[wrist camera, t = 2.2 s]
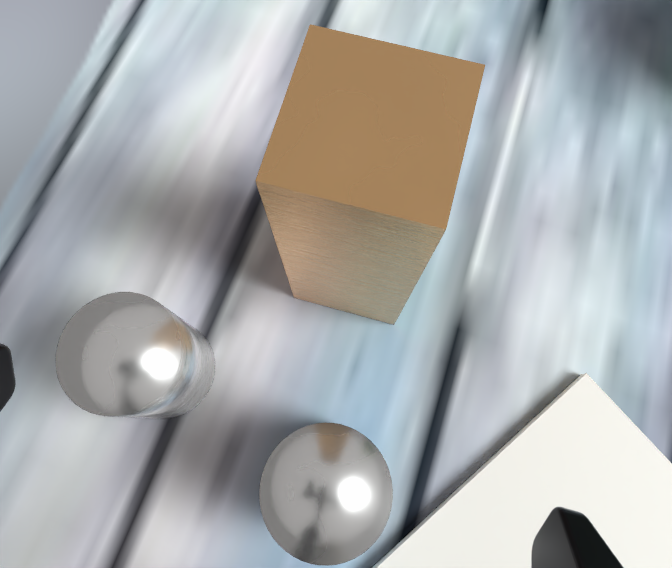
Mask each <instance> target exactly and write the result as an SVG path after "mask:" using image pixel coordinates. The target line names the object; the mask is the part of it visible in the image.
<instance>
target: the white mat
mask: <svg viewBox="0 0 672 568" xmlns="http://www.w3.org/2000/svg"><path fill="white" fill-rule="evenodd" d="M555 507H564V508H567V509H570V510H574V511H577V512H580V513H582V514H584V515H585V516H586V517H587V518H588V519H589V520H590V522H591V523H592V524H593V526H594V527H595V529H596V530H597V531H598V533H599V534H600V536H601V537H602V538H603V540H604V541H605V542H606V544H607V545H608V547H609V548H610V549H611V551H612V552H613V554H614V555H615V556H616V558H617V559H618V561H619V562H620V563H621V565H622V566H623V567H624V568H672V463H671V462H670V461H669V460H668V459H667V458H666V457H665V456H664V455H663V454H662V453H661V452H660V451H659V450H658V449H657V448H656V447H655V445H654V444H653V443H652V442H651V441H650V440H649V439H648V438H647V437H646V436H645V435H644V434H643V433H642V432H641V431H640V430H639V428H638V427H637V426H636V425H635V424H634V423H633V422H632V421H631V420H630V419H629V418H628V417H627V416H626V415H625V414H624V413H623V411H622V410H621V409H620V408H619V407H618V406H617V405H616V404H615V403H614V402H613V401H612V400H611V399H610V398H609V397H608V396H607V394H606V393H605V392H604V391H603V390H602V389H601V388H600V387H599V386H598V385H597V384H596V383H595V382H594V381H593V380H592V379H591V377H590V376H589V375H588V374H587V373H586V374H581V375H580V376H579V377H578V378H577V379H576V380H575V381H574V382H572V383H571V384H570V385H569V386H568V387H567V388H566V389H565V390H564V391H563V392H562V393H561V394H559V395H558V396H557V397H556V398H555V399H554V400H553V401H552V402H551V403H550V404H549V405H548V406H546V407H545V408H544V409H543V410H542V411H541V412H540V413H539V414H538V415H537V416H536V417H535V418H533V419H532V420H531V421H530V422H529V423H528V424H527V425H526V426H525V427H524V428H523V429H522V430H520V431H519V432H518V433H517V434H516V435H515V436H514V437H513V438H512V439H511V440H510V441H509V442H507V443H506V444H505V445H504V446H503V447H502V448H501V449H500V450H499V451H498V452H497V453H496V454H495V455H493V456H492V457H491V458H490V459H489V460H488V461H487V462H486V463H485V464H484V465H483V466H482V467H480V468H479V469H478V470H477V471H476V472H475V473H474V474H473V475H472V476H471V477H470V478H469V479H467V480H466V481H465V482H464V483H463V484H462V485H461V486H460V487H459V488H458V489H457V490H456V491H454V492H453V493H452V494H451V495H450V496H449V497H448V498H447V499H446V500H445V501H444V502H443V503H441V504H440V505H439V506H438V507H437V508H436V509H435V510H434V511H433V512H432V513H431V514H430V515H428V516H427V517H426V518H425V519H424V520H423V521H422V522H421V523H420V524H419V525H418V526H417V527H415V528H414V529H413V530H412V531H411V532H410V533H409V534H408V535H407V536H406V537H405V538H404V539H402V540H401V541H400V542H399V543H398V544H397V545H396V546H395V547H394V548H393V549H392V550H391V551H389V552H388V553H387V554H386V555H385V556H384V557H383V558H382V559H381V560H380V561H379V562H378V563H376V564H375V565H374V566H373V567H372V568H531V554H532V545H533V541H534V539H535V537H536V535H537V533H538V532H539V530H540V528H541V527H542V525H543V524H544V522H545V520H546V519H547V517H548V516H549V514H550V512H551V511H552V510H553V509H554V508H555Z"/></svg>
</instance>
